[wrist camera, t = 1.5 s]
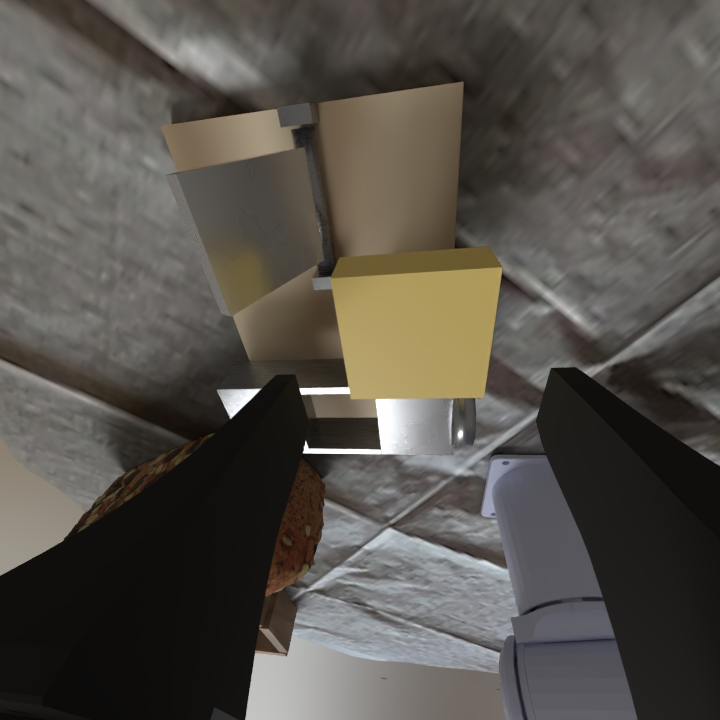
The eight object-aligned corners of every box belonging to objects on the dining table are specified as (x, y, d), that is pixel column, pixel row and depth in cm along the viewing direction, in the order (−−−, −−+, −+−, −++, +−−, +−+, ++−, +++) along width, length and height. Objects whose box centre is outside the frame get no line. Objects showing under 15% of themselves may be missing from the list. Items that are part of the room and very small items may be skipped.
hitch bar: (482, 79, 12) (525, 63, 8) (457, 397, 22) (470, 467, 17) (171, 125, 14) (71, 131, 10) (270, 399, 24) (241, 463, 19)
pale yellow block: (472, 220, 15) (502, 267, 10) (463, 327, 18) (483, 398, 13) (351, 231, 15) (330, 278, 11) (363, 331, 19) (350, 399, 14)
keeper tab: (300, 128, 13) (318, 125, 13) (324, 264, 17) (339, 266, 16) (151, 150, 9) (171, 147, 9) (223, 328, 12) (240, 332, 12)
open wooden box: (277, 576, 43) (264, 624, 39) (299, 613, 51) (291, 656, 47) (182, 569, 45) (160, 614, 41) (217, 606, 53) (202, 647, 49)
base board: (460, 82, 13) (463, 81, 12) (444, 408, 22) (445, 417, 22) (171, 125, 14) (160, 125, 14) (274, 409, 24) (271, 417, 24)
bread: (255, 403, 24) (183, 546, 16) (337, 482, 29) (312, 621, 21) (113, 467, 32) (16, 587, 24) (198, 522, 37) (141, 636, 29)
